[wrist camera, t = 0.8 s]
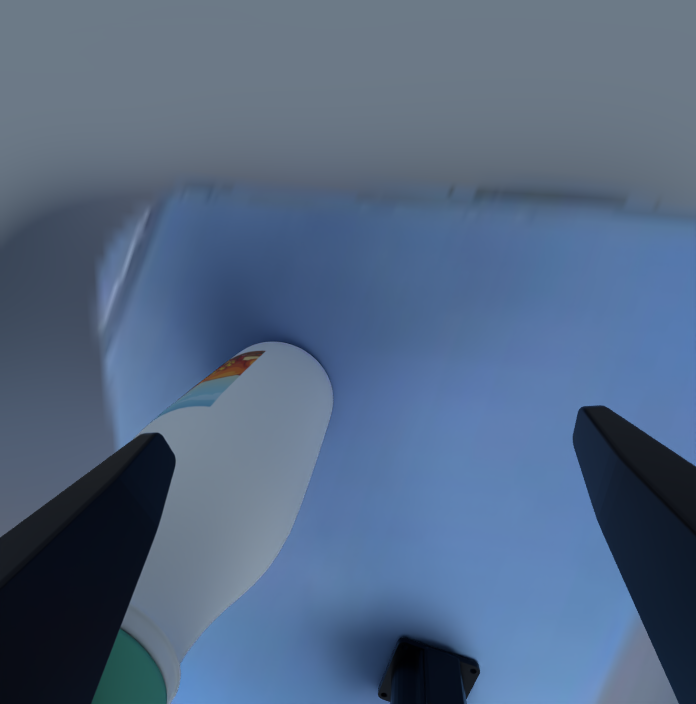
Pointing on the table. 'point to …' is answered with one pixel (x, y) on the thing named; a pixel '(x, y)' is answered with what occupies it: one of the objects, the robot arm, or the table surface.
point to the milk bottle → (219, 508)
